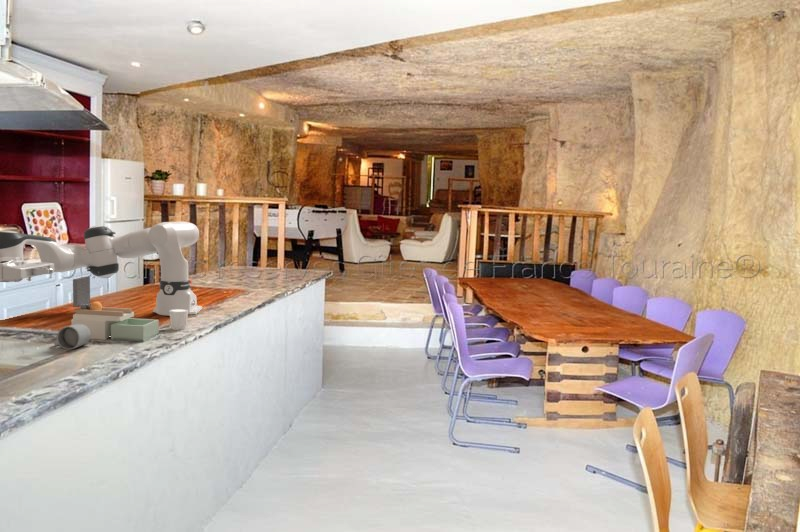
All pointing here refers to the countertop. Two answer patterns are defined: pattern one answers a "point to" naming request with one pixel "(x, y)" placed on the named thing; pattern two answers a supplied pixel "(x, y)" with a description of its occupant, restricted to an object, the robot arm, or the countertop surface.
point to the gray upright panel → (81, 293)
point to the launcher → (101, 320)
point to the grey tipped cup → (73, 336)
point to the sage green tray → (134, 329)
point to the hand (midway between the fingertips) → (50, 271)
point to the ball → (96, 306)
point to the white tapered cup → (178, 319)
